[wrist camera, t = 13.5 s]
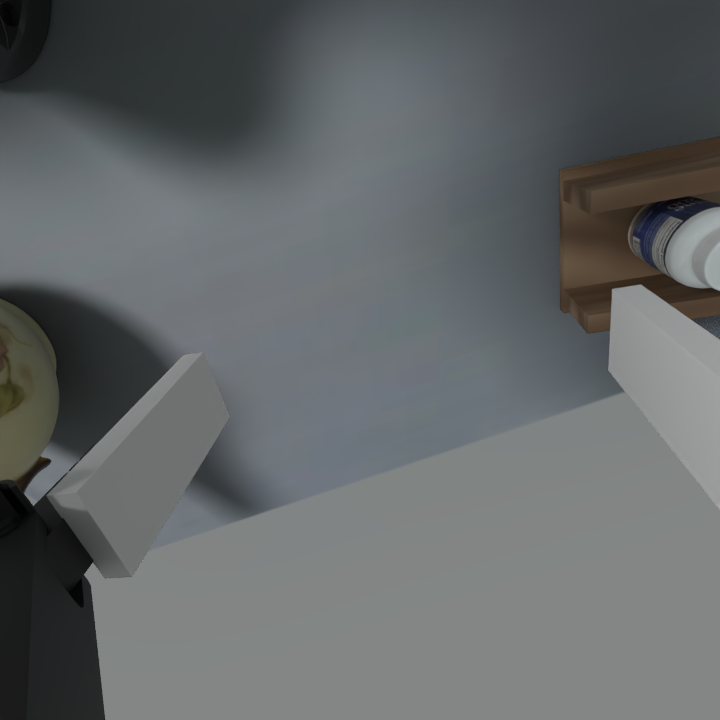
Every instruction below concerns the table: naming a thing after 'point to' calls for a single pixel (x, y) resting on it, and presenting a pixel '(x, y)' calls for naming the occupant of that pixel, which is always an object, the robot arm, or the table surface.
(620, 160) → the u rest
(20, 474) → the pitcher
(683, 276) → the pill bottle
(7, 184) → the table surface
